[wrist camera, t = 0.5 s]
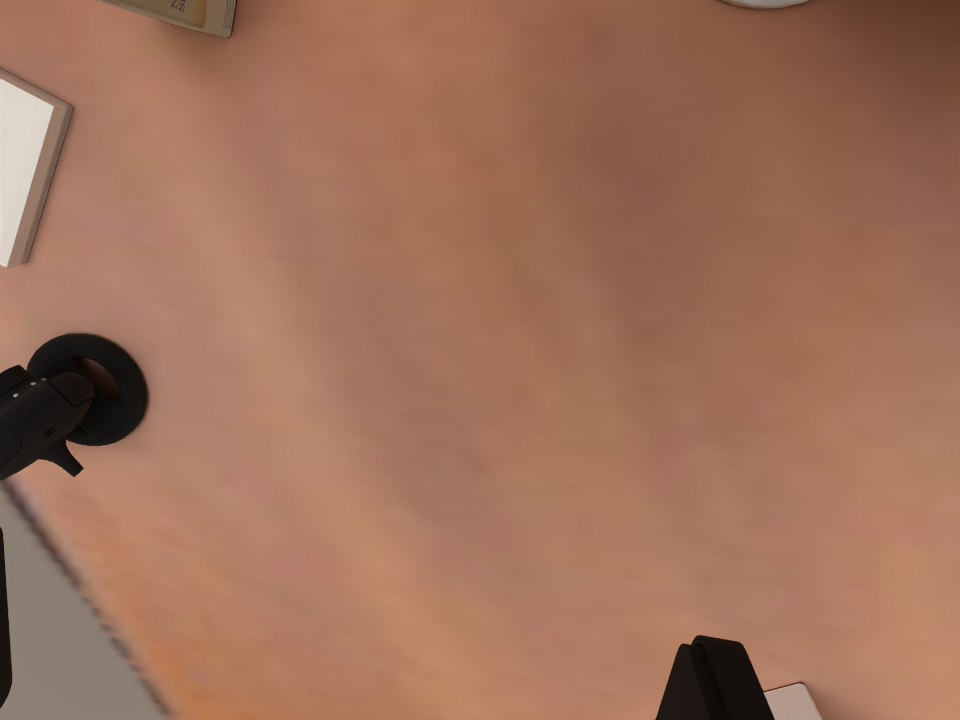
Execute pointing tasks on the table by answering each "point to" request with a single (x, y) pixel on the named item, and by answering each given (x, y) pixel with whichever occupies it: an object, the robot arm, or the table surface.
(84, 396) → the webcam
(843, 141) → the table surface
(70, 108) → the tray
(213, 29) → the skincare box
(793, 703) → the gable box
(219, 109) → the table surface
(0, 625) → the robot arm
